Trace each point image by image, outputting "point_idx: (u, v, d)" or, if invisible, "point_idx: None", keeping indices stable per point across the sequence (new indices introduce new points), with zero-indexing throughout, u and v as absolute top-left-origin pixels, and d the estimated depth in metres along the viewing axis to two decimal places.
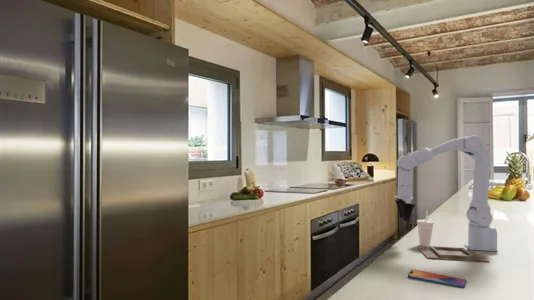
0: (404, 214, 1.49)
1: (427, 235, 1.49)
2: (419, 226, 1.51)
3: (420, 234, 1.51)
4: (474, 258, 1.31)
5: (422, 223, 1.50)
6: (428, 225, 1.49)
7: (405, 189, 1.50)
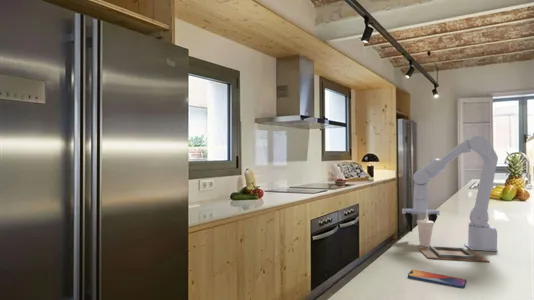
0: (408, 224, 1.61)
1: (427, 235, 1.49)
2: (419, 226, 1.51)
3: (420, 234, 1.51)
4: (474, 258, 1.31)
5: (422, 223, 1.50)
6: (428, 225, 1.49)
7: None
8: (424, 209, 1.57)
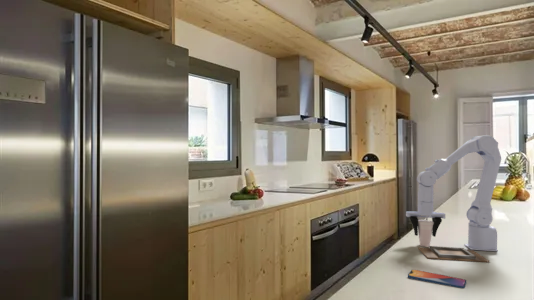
0: (414, 228, 1.53)
1: (427, 235, 1.49)
2: (419, 226, 1.51)
3: (420, 234, 1.51)
4: (474, 258, 1.31)
5: (422, 223, 1.50)
6: (428, 225, 1.49)
7: None
8: (429, 212, 1.49)
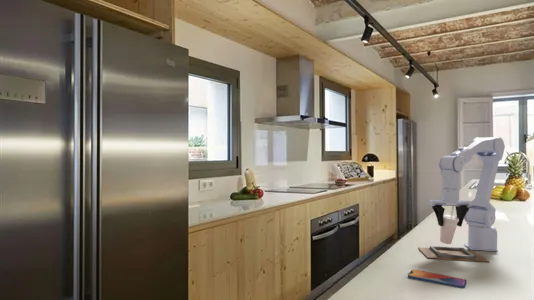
0: (437, 218, 1.40)
1: (452, 232, 1.38)
2: (443, 222, 1.38)
3: (443, 230, 1.39)
4: (474, 258, 1.31)
5: (448, 219, 1.37)
6: (454, 222, 1.37)
7: (442, 192, 1.39)
8: (456, 200, 1.36)
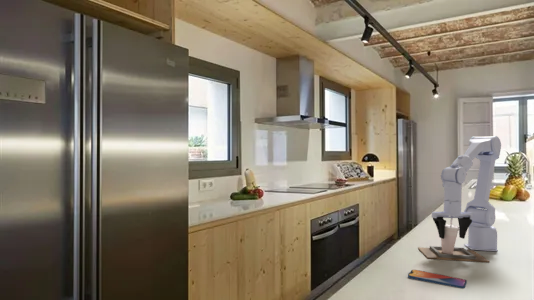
0: (438, 230, 1.39)
1: (453, 241, 1.37)
2: None
3: (444, 240, 1.38)
4: (474, 258, 1.31)
5: (448, 229, 1.36)
6: (454, 231, 1.36)
7: (444, 204, 1.38)
8: (458, 212, 1.36)
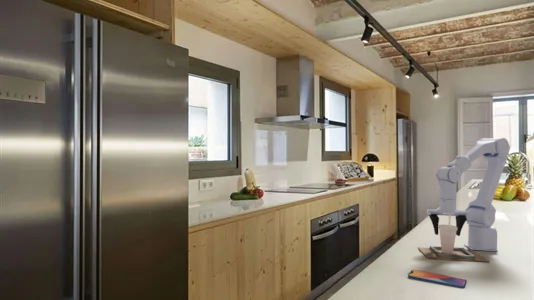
0: (434, 227, 1.45)
1: (452, 241, 1.37)
2: (443, 232, 1.38)
3: (444, 241, 1.38)
4: (474, 258, 1.31)
5: (447, 229, 1.37)
6: (453, 231, 1.37)
7: (439, 202, 1.44)
8: (452, 210, 1.41)
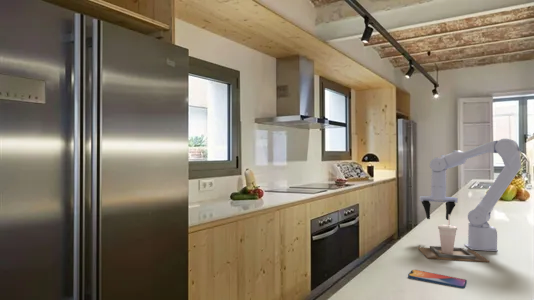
0: (426, 212, 1.60)
1: (452, 241, 1.37)
2: (442, 232, 1.38)
3: (443, 241, 1.38)
4: (474, 258, 1.31)
5: (446, 229, 1.37)
6: (453, 231, 1.37)
7: (431, 189, 1.59)
8: (442, 196, 1.56)
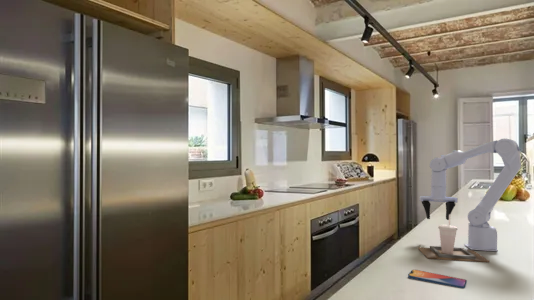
0: (426, 212, 1.60)
1: (452, 241, 1.37)
2: (443, 232, 1.38)
3: (444, 241, 1.38)
4: (474, 258, 1.31)
5: (447, 229, 1.37)
6: (453, 231, 1.37)
7: (431, 189, 1.60)
8: (442, 196, 1.56)
